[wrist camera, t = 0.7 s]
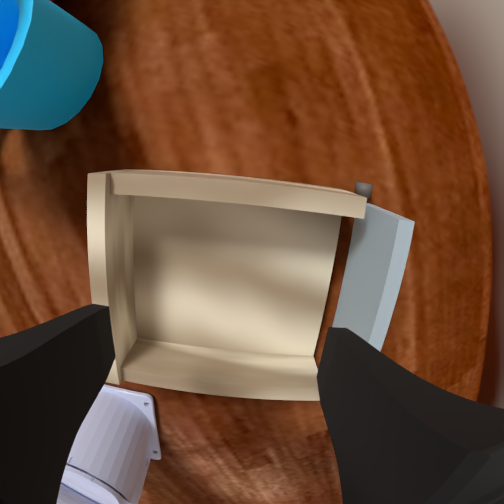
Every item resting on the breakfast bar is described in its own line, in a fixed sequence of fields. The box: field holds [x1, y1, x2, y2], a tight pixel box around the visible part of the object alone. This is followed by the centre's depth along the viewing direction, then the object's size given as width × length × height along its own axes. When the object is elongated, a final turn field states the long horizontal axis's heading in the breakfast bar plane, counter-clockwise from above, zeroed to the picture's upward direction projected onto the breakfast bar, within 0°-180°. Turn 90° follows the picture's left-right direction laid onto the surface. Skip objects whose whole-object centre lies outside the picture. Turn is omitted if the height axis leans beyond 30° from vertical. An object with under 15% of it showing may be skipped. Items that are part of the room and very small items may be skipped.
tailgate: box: [332, 203, 415, 351], centre depth 16 cm, size 11×1×5 cm, turn 174°
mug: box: [0, 0, 103, 130], centre depth 12 cm, size 12×8×8 cm
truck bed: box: [87, 169, 373, 401], centre depth 17 cm, size 13×15×5 cm
